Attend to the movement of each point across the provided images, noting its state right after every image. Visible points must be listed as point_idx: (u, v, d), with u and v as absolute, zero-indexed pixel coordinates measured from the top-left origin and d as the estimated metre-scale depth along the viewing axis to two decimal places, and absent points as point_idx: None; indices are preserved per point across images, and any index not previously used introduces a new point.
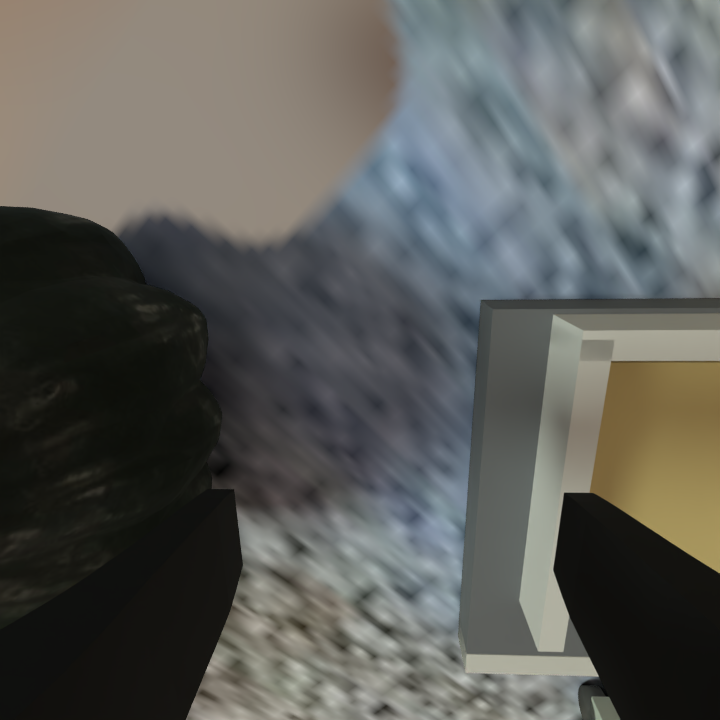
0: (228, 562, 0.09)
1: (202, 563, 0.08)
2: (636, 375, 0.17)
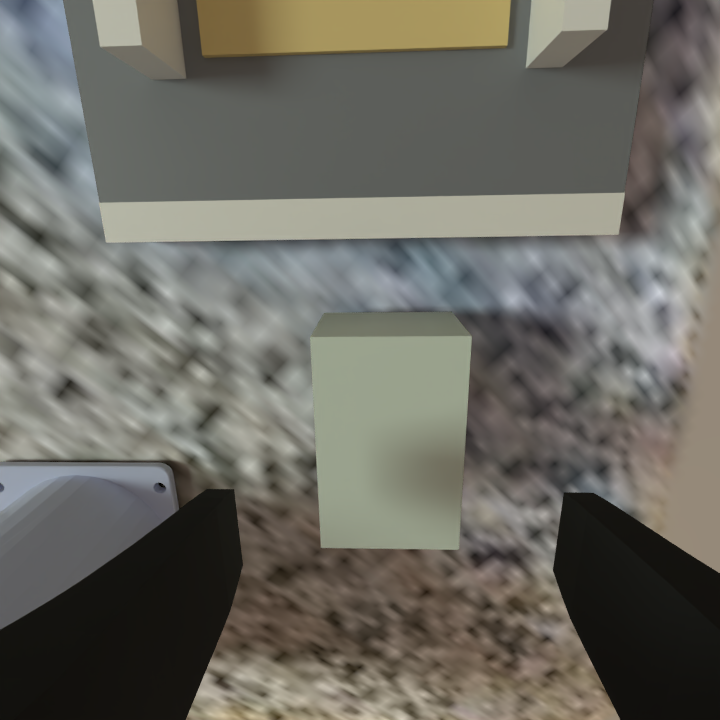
0: (228, 562, 0.09)
1: (202, 563, 0.08)
2: None
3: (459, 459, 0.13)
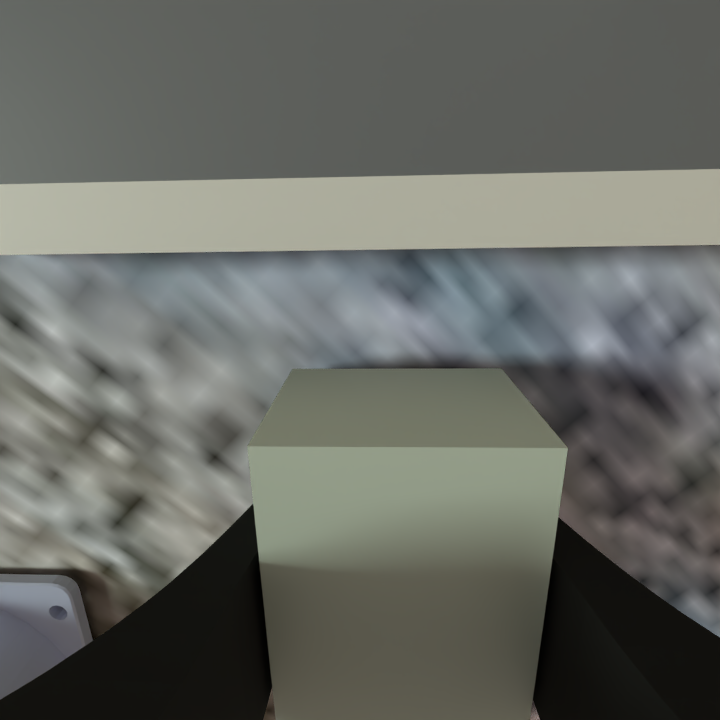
0: None
1: None
2: None
3: (529, 656, 0.07)
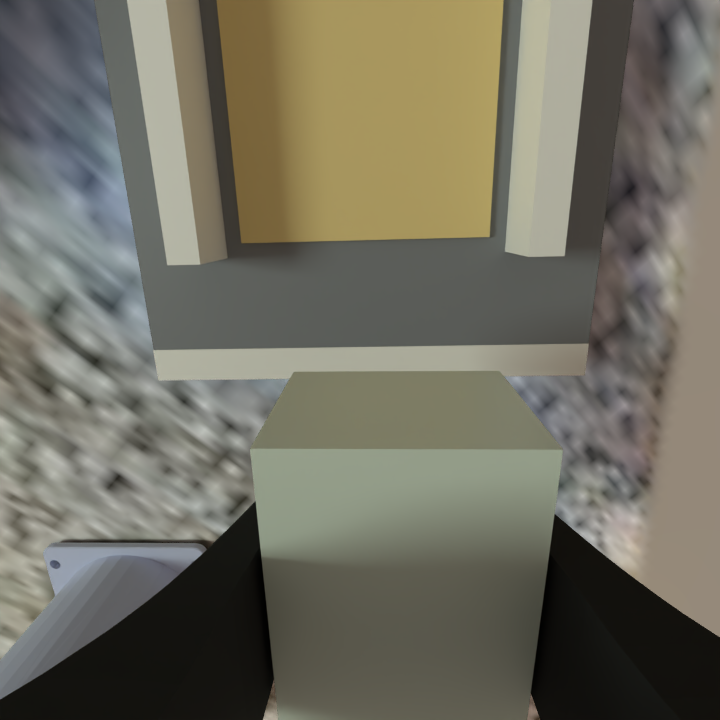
0: None
1: None
2: None
3: (527, 654, 0.07)
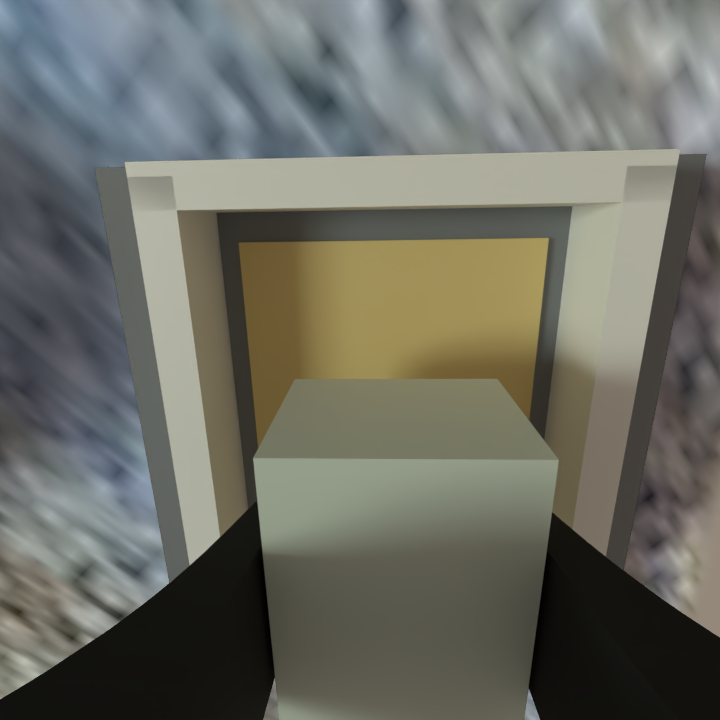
0: None
1: None
2: (299, 260, 0.12)
3: (523, 658, 0.07)
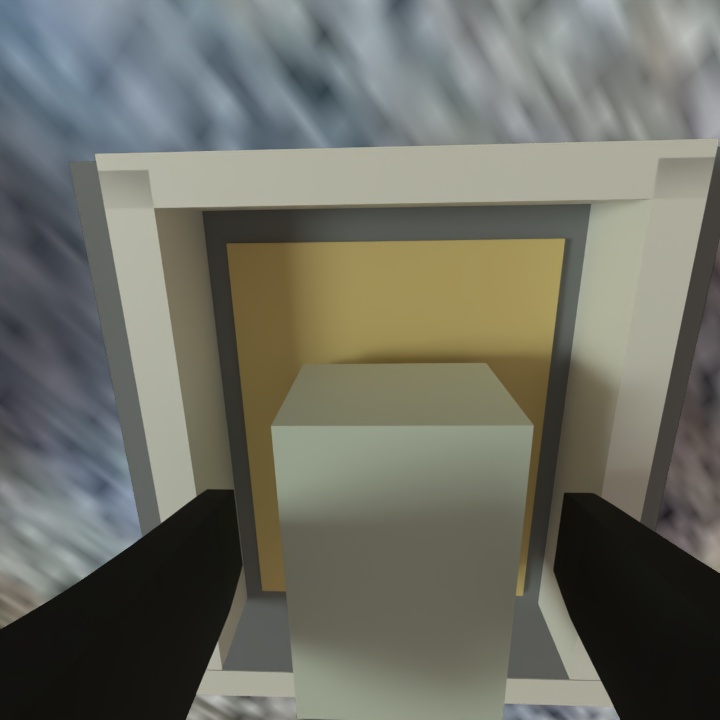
0: (228, 562, 0.09)
1: (202, 563, 0.08)
2: (292, 263, 0.11)
3: (507, 604, 0.08)
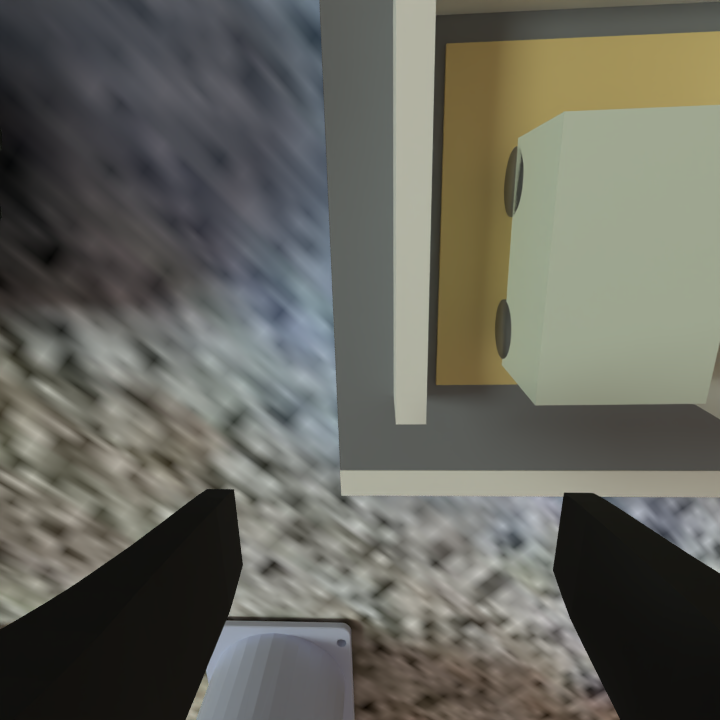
0: (228, 562, 0.09)
1: (202, 563, 0.08)
2: (501, 60, 0.13)
3: None
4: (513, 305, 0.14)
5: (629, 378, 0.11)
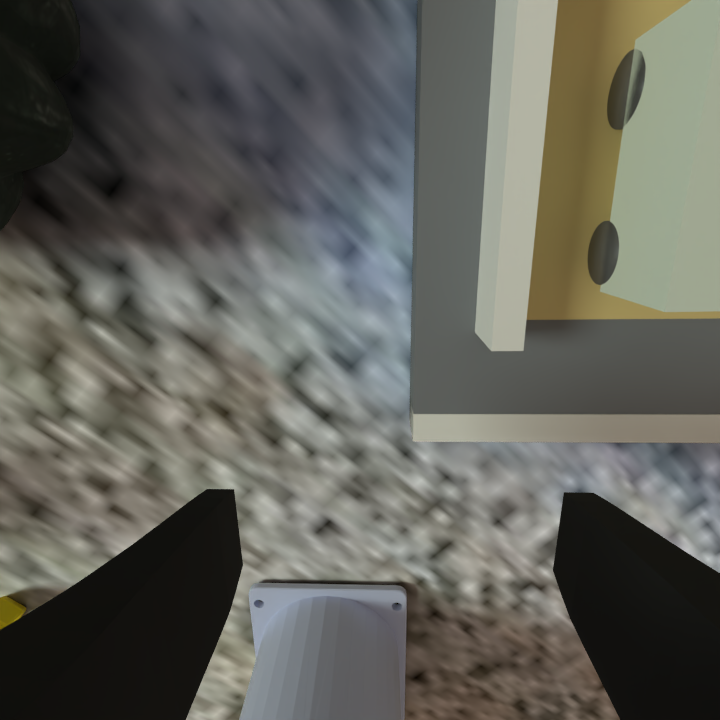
0: (228, 562, 0.09)
1: (202, 563, 0.08)
2: None
3: None
4: (623, 220, 0.13)
5: None
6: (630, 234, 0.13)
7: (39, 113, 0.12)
